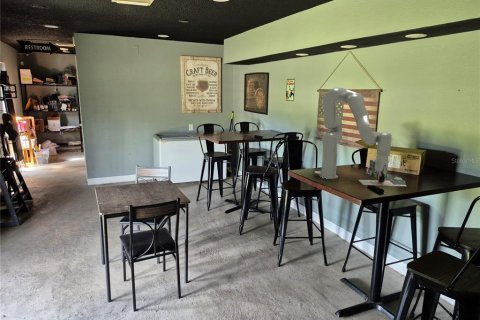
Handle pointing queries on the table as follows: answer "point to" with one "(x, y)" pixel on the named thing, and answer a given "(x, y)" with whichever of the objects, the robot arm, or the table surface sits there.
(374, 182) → the colouring board
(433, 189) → the table surface
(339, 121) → the robot arm
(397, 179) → the button
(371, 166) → the chalk box
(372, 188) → the table surface
